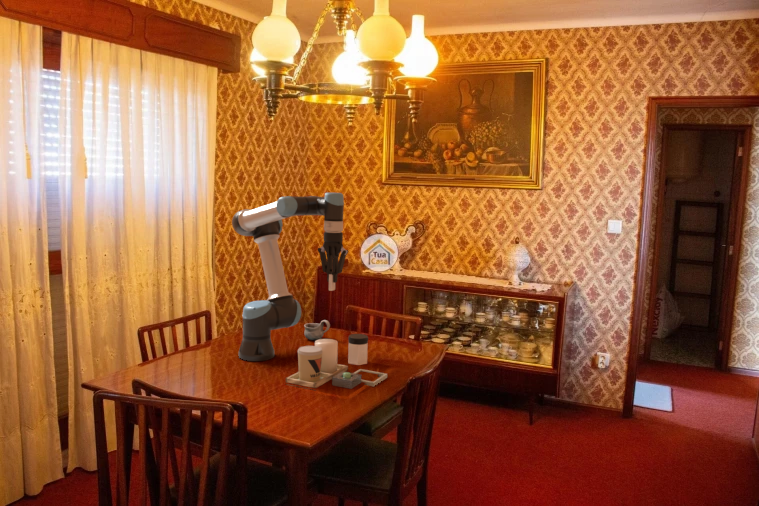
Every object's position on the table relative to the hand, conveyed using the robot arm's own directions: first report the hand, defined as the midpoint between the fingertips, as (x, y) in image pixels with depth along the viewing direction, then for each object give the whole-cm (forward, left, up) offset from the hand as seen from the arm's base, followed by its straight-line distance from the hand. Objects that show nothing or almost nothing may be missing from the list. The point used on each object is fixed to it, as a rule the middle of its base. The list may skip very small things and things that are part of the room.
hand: (331, 290), depth 243 cm
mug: (-27, +35, -33) cm, 55 cm away
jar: (+7, +11, -33) cm, 35 cm away
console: (+16, -16, -32) cm, 39 cm away
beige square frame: (+19, -4, -32) cm, 38 cm away
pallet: (+2, -13, -32) cm, 35 cm away
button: (+16, -15, -31) cm, 39 cm away
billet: (+2, -7, -31) cm, 32 cm away
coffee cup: (+2, -19, -32) cm, 37 cm away
